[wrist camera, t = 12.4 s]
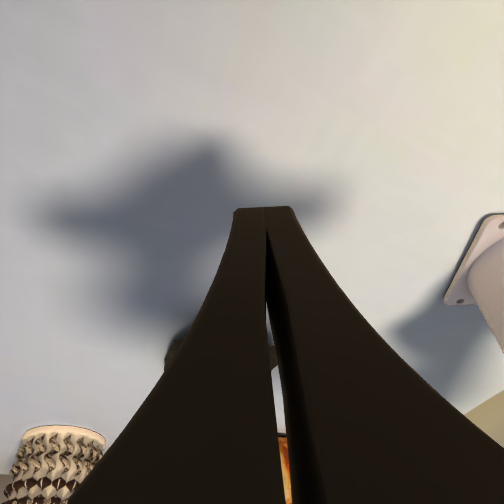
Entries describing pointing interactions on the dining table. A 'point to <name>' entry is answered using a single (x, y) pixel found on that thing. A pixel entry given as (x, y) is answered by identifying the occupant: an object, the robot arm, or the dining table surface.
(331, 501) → the robot arm
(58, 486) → the decorative candle
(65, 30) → the dining table surface
